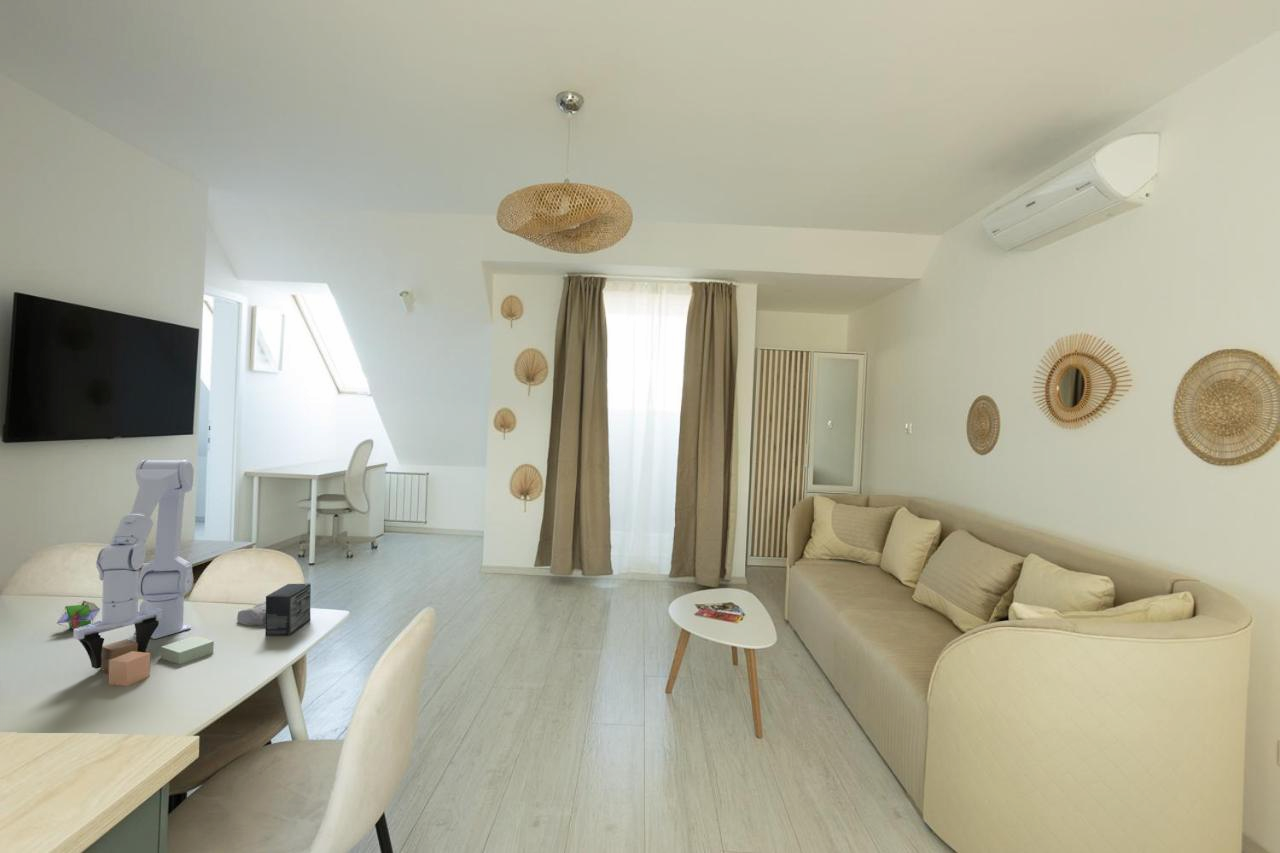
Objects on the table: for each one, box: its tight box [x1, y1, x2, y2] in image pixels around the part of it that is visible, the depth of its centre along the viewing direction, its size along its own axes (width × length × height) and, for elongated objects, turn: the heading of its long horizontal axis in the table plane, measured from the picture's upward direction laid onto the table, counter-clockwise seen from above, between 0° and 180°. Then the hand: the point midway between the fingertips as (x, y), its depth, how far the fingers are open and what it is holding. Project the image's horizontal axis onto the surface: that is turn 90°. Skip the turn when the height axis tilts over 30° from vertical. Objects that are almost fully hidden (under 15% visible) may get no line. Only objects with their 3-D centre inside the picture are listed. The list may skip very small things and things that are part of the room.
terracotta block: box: [108, 651, 151, 687], centre depth 115 cm, size 4×4×5 cm
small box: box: [264, 583, 312, 637], centre depth 145 cm, size 11×6×10 cm, turn 5°
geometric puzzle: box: [56, 600, 101, 632], centre depth 140 cm, size 7×7×8 cm
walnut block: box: [100, 638, 138, 673], centre depth 121 cm, size 4×4×5 cm
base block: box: [160, 635, 215, 665], centre depth 127 cm, size 7×7×3 cm
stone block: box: [236, 601, 266, 627], centre depth 152 cm, size 12×5×10 cm
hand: (119, 660), depth 121 cm, fingers open, 7 cm apart
